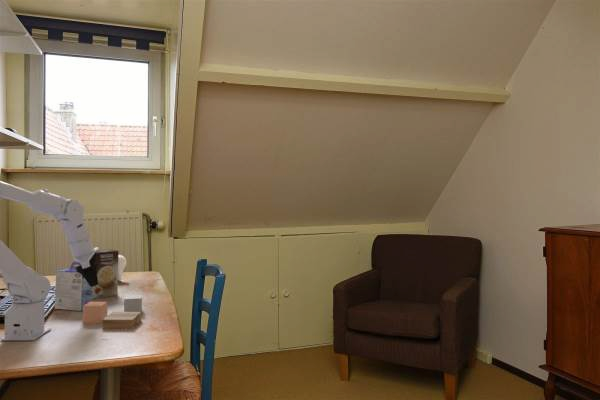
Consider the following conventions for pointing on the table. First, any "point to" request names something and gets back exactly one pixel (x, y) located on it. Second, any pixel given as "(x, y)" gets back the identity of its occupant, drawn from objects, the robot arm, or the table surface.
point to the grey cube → (133, 303)
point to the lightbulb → (121, 265)
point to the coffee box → (106, 274)
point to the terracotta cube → (94, 312)
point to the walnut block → (121, 320)
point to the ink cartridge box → (71, 289)
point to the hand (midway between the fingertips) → (94, 280)
